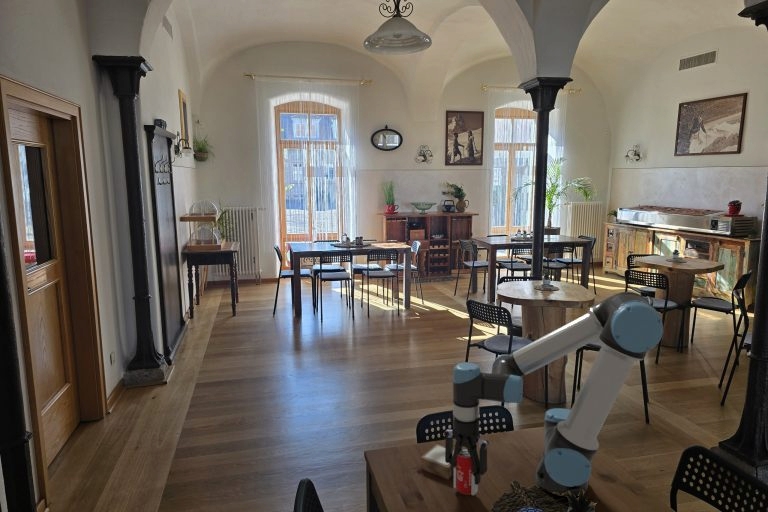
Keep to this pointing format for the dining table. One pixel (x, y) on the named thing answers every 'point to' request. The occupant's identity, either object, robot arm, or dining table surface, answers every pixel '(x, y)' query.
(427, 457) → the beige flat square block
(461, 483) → the beverage can
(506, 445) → the dining table surface
